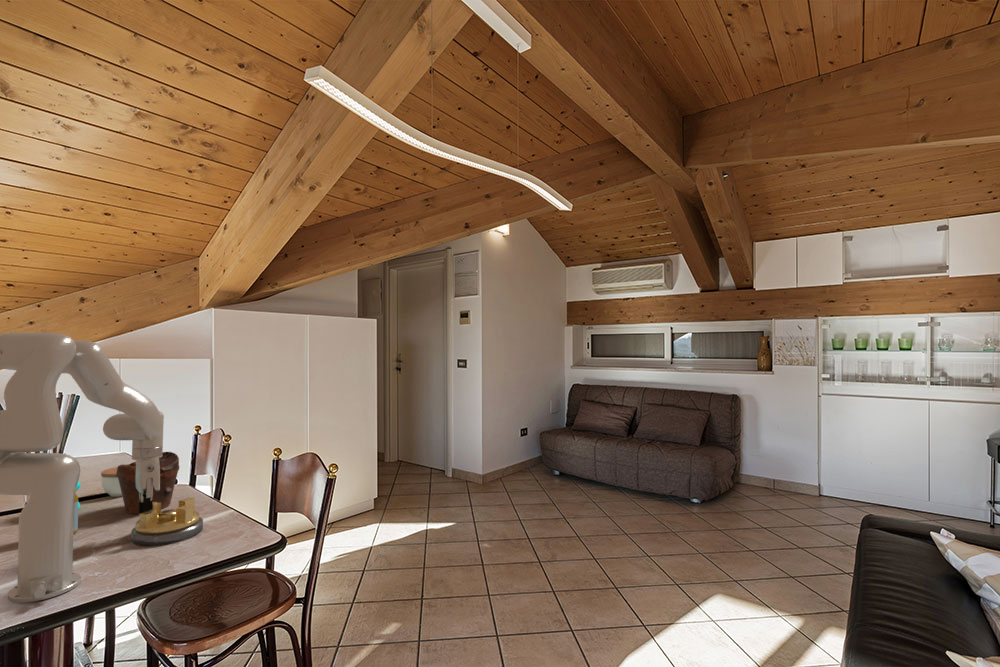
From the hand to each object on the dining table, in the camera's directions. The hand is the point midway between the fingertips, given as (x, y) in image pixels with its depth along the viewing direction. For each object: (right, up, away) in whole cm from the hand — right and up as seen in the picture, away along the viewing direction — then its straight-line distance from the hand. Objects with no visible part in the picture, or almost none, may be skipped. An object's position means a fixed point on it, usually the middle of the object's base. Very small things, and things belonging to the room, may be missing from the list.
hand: (145, 514), depth 148 cm
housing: (+6, -6, +2) cm, 9 cm away
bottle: (-25, -6, 0) cm, 25 cm away
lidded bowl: (-38, -7, +40) cm, 55 cm away
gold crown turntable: (+6, -4, +2) cm, 7 cm away
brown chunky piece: (-17, -7, +24) cm, 30 cm away
